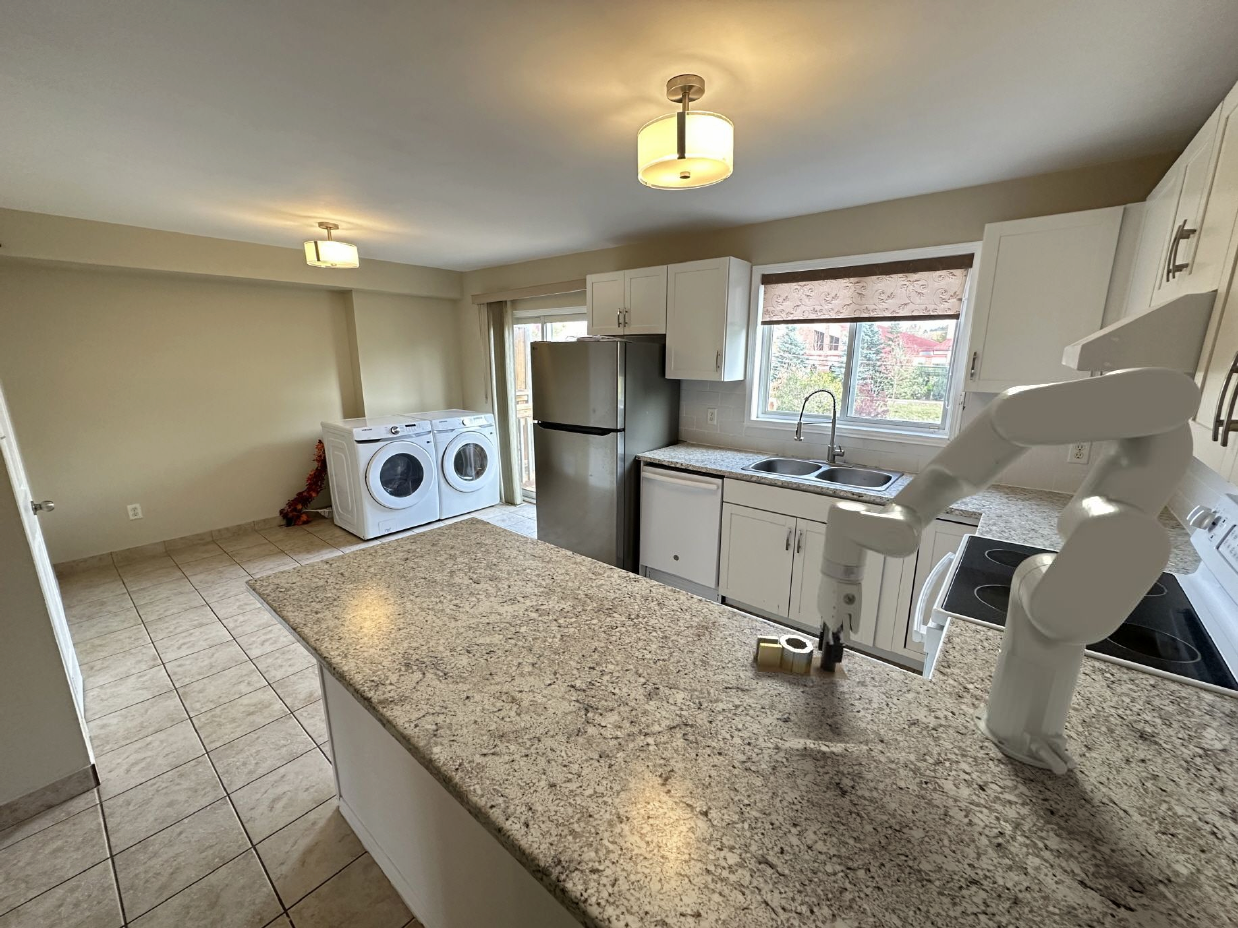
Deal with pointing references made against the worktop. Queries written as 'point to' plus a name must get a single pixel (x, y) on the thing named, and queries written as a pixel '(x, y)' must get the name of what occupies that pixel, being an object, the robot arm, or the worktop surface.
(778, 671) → the base board
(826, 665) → the hinge pin
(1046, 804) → the worktop surface
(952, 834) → the worktop surface
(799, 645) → the hinge
